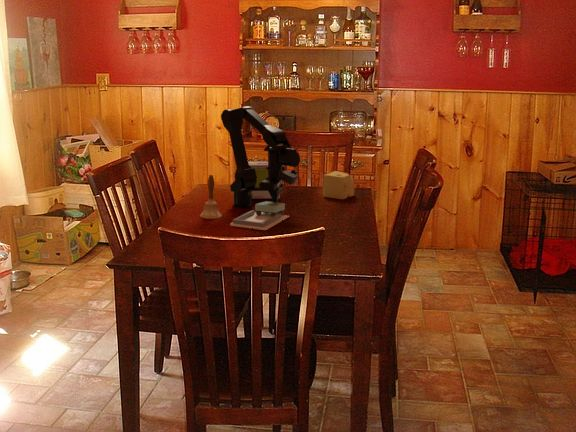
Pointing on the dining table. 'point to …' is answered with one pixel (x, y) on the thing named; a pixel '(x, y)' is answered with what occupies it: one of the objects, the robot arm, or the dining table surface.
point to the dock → (257, 220)
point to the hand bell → (210, 203)
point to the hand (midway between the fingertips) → (275, 203)
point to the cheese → (338, 185)
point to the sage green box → (269, 208)
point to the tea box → (260, 180)
